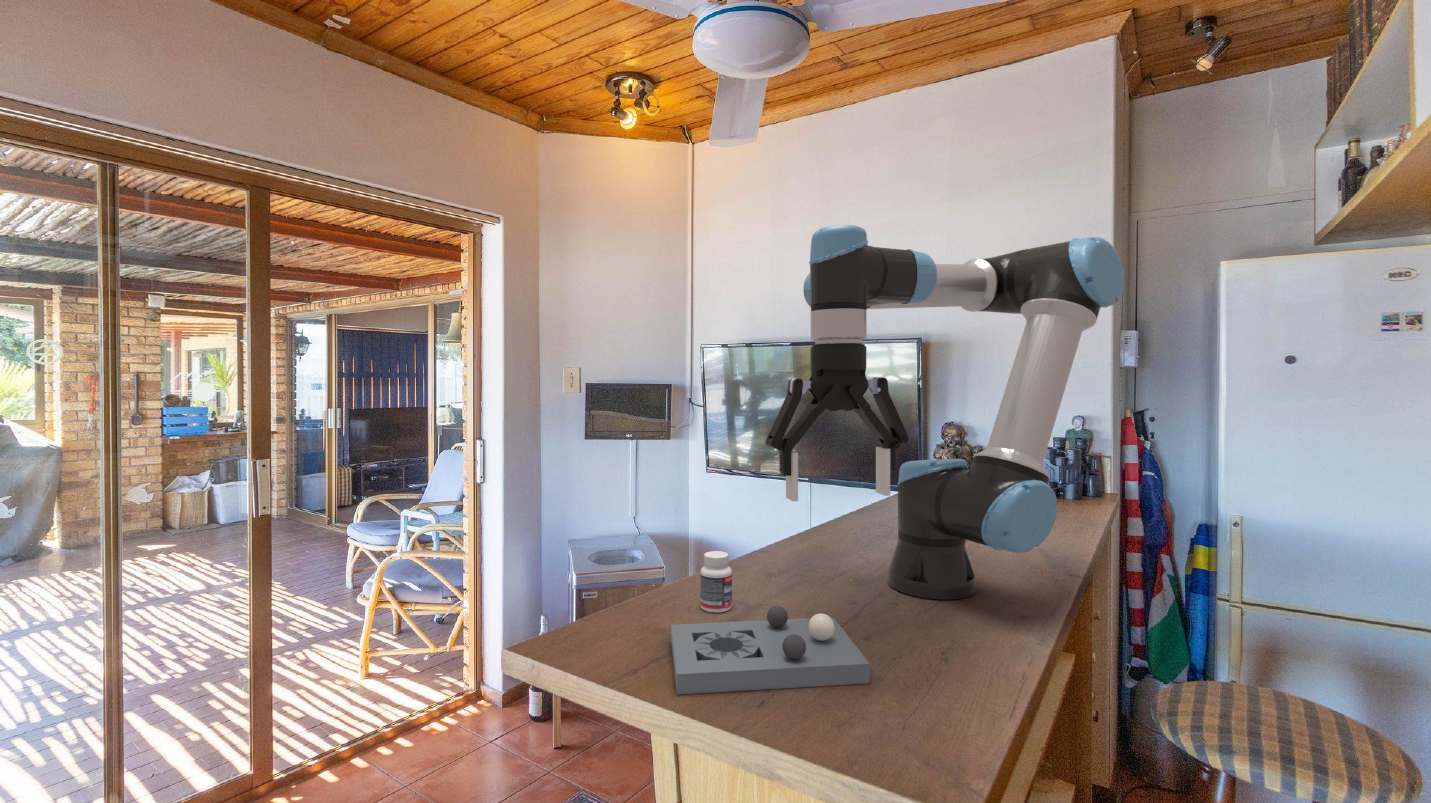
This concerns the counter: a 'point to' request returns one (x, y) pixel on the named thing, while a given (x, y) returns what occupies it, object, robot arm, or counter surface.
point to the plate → (761, 657)
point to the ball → (821, 627)
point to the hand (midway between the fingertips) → (838, 496)
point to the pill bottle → (716, 583)
